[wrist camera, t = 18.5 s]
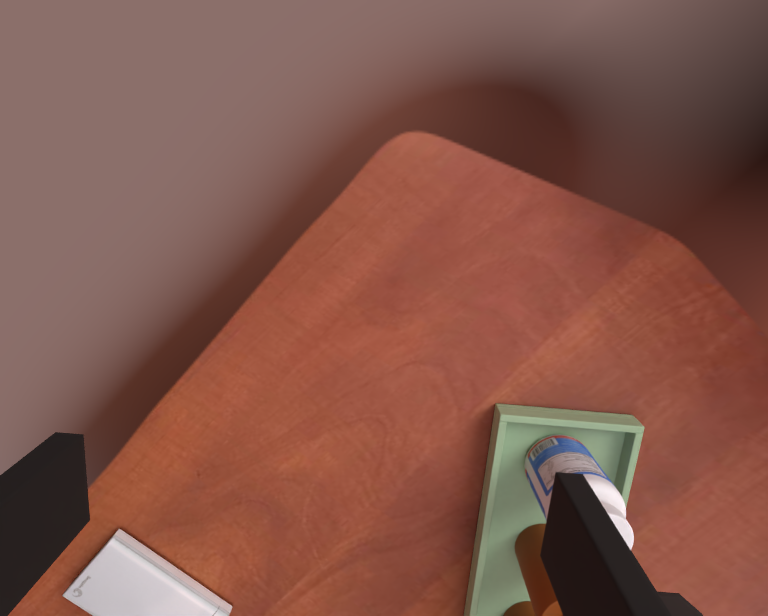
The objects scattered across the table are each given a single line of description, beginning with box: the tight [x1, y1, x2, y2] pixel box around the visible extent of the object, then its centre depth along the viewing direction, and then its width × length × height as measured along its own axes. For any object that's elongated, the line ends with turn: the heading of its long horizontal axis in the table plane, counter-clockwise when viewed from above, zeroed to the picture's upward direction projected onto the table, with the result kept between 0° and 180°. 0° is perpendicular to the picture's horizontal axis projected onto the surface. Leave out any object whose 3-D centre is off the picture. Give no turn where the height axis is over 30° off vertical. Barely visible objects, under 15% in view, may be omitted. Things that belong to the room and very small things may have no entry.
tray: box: [464, 403, 644, 616], centre depth 44 cm, size 25×11×2 cm, turn 175°
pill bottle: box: [524, 434, 634, 550], centre depth 38 cm, size 6×5×10 cm
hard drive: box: [63, 529, 232, 616], centre depth 47 cm, size 2×8×12 cm
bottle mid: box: [515, 524, 563, 616], centre depth 39 cm, size 5×5×11 cm
